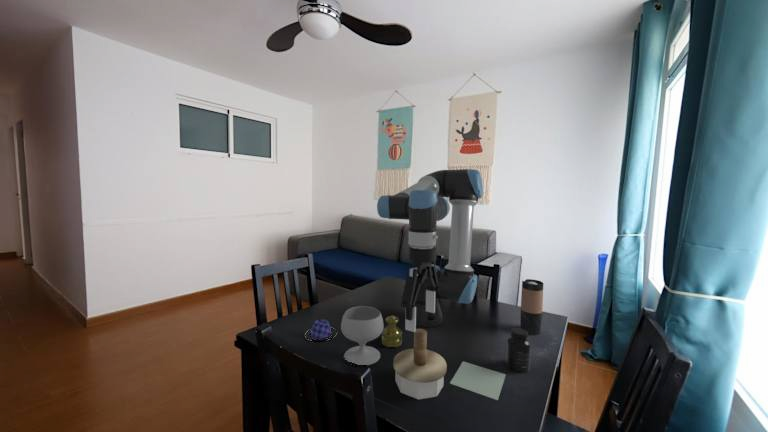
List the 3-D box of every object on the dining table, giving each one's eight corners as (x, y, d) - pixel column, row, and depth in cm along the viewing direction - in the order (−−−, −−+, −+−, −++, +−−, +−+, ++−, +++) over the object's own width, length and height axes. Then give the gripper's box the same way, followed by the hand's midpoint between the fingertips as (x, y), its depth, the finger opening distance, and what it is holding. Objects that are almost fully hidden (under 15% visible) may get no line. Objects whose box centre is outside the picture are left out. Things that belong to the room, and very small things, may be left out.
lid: (383, 370, 81) (383, 335, 81) (407, 346, 94) (408, 316, 93) (434, 389, 74) (435, 351, 73) (453, 361, 86) (454, 328, 86)
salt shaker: (404, 340, 110) (404, 313, 109) (398, 350, 103) (399, 322, 102) (385, 336, 112) (385, 311, 111) (378, 346, 105) (379, 319, 104)
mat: (449, 384, 84) (449, 383, 84) (462, 362, 95) (462, 361, 95) (497, 401, 78) (497, 400, 78) (505, 375, 89) (505, 374, 89)
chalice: (391, 360, 96) (392, 315, 95) (352, 374, 89) (353, 325, 87) (369, 341, 108) (370, 301, 107) (334, 352, 100) (334, 309, 99)
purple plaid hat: (343, 333, 114) (343, 320, 114) (320, 346, 105) (320, 332, 104) (321, 325, 121) (321, 313, 121) (298, 336, 111) (297, 323, 111)
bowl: (388, 388, 82) (389, 369, 82) (409, 366, 93) (409, 349, 93) (431, 406, 76) (432, 385, 75) (447, 379, 86) (448, 361, 86)
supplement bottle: (502, 361, 96) (503, 326, 95) (522, 361, 97) (523, 325, 96) (512, 374, 89) (514, 336, 88) (534, 373, 90) (536, 335, 89)
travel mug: (543, 336, 114) (546, 285, 112) (522, 334, 115) (524, 284, 114) (537, 327, 121) (540, 279, 120) (517, 325, 123) (519, 278, 121)
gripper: (415, 256, 69) (414, 344, 71) (450, 240, 90) (448, 307, 92) (387, 253, 72) (387, 335, 75) (427, 238, 94) (426, 302, 96)
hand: (421, 320), depth 83 cm, fingers open, 13 cm apart
